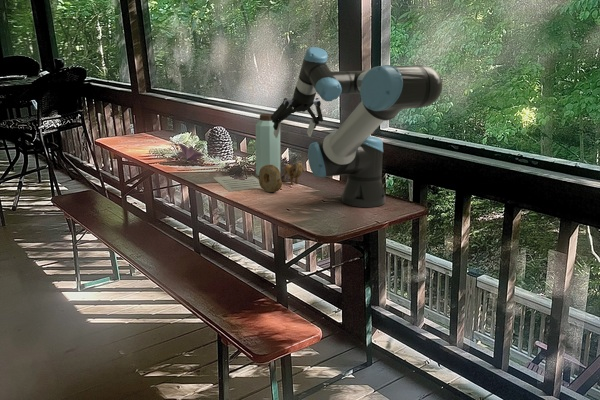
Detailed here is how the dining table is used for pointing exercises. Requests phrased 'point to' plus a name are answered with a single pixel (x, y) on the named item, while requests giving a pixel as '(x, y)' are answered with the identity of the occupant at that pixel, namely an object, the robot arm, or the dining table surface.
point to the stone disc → (270, 178)
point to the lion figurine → (293, 172)
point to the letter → (238, 183)
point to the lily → (189, 153)
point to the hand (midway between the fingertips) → (292, 135)
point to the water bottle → (266, 143)
